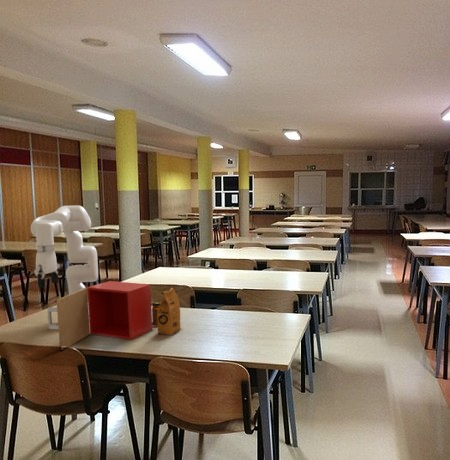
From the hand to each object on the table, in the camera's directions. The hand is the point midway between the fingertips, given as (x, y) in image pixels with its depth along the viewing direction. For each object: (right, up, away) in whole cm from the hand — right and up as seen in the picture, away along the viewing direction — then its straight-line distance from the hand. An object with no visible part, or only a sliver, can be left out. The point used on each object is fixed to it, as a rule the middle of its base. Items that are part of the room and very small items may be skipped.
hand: (48, 285), depth 228 cm
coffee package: (+54, -26, +25) cm, 64 cm away
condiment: (+45, -24, +39) cm, 64 cm away
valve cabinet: (+29, -26, +26) cm, 47 cm away
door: (+6, -28, +11) cm, 31 cm away
